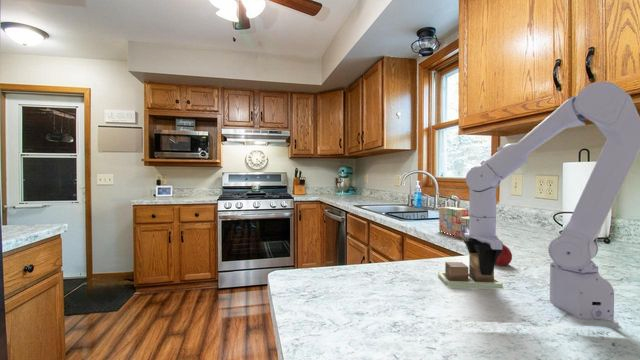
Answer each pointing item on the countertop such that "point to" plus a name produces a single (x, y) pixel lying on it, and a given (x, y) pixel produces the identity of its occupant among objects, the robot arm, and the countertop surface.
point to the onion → (504, 256)
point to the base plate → (472, 283)
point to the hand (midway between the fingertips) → (481, 271)
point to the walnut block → (456, 271)
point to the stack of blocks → (454, 221)
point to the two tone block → (478, 270)
